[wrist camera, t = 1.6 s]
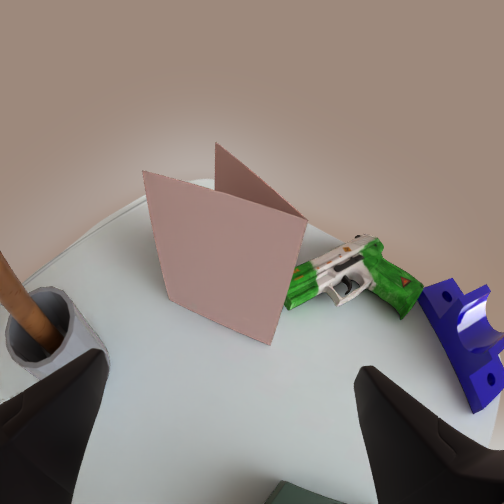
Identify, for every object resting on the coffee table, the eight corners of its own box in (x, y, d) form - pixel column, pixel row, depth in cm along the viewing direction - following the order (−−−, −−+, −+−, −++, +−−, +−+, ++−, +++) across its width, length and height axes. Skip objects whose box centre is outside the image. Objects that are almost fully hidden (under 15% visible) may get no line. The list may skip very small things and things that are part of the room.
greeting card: (277, 341, 25) (319, 216, 15) (208, 375, 22) (191, 261, 12) (222, 263, 32) (225, 140, 21) (162, 285, 29) (136, 159, 18)
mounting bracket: (415, 297, 30) (437, 266, 26) (446, 285, 32) (467, 257, 27) (473, 414, 18) (508, 395, 14) (500, 387, 20) (531, 366, 15)
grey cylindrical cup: (77, 415, 17) (28, 387, 12) (39, 364, 20) (-5, 324, 14) (124, 364, 22) (91, 322, 16) (82, 321, 24) (49, 272, 19)
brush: (74, 383, 19) (-28, 281, 8) (58, 362, 20) (-34, 257, 9) (93, 363, 21) (5, 250, 10) (77, 344, 22) (-4, 230, 11)
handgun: (333, 375, 23) (267, 287, 30) (420, 302, 29) (362, 241, 36) (344, 365, 21) (270, 270, 28) (432, 288, 27) (369, 225, 34)
